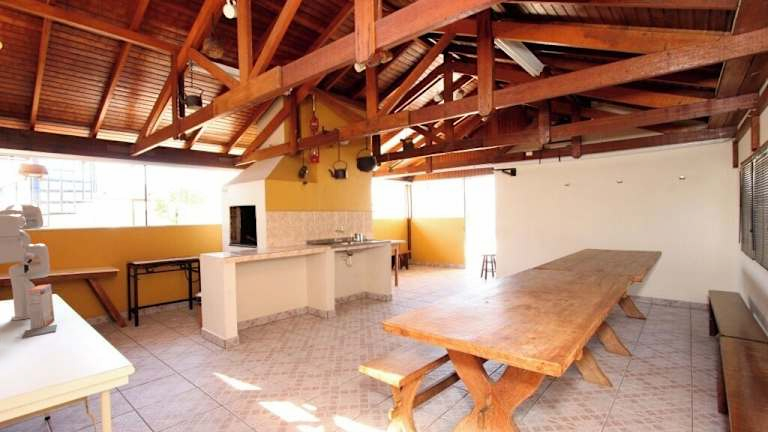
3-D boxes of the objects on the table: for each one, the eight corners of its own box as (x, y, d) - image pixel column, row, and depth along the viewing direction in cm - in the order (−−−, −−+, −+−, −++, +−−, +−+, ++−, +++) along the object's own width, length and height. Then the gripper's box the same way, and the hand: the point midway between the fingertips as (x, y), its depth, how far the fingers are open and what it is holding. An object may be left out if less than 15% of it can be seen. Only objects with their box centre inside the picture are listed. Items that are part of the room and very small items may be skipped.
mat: (25, 331, 189) (25, 330, 189) (56, 325, 197) (56, 324, 197) (22, 338, 178) (22, 337, 178) (55, 331, 186) (55, 330, 186)
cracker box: (41, 322, 204) (38, 285, 203) (55, 320, 207) (52, 283, 206) (29, 329, 191) (26, 290, 190) (44, 327, 194) (41, 288, 193)
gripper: (34, 237, 190) (37, 270, 191) (-15, 241, 179) (-12, 276, 180) (32, 238, 184) (35, 272, 185) (-18, 242, 173) (-15, 278, 174)
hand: (12, 274), depth 182 cm, fingers open, 9 cm apart
